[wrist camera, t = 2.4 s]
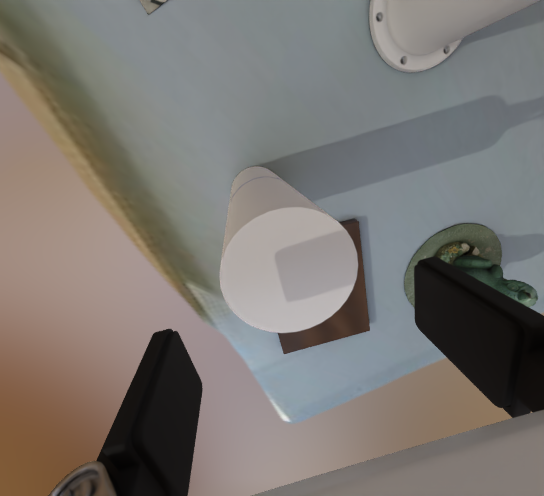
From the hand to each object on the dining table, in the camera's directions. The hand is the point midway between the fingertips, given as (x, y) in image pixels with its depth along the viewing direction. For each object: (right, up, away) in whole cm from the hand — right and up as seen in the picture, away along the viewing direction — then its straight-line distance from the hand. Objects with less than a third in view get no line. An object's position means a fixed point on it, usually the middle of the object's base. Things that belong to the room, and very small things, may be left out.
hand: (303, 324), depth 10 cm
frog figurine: (+31, -1, +36) cm, 47 cm away
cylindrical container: (-3, +11, +26) cm, 29 cm away
